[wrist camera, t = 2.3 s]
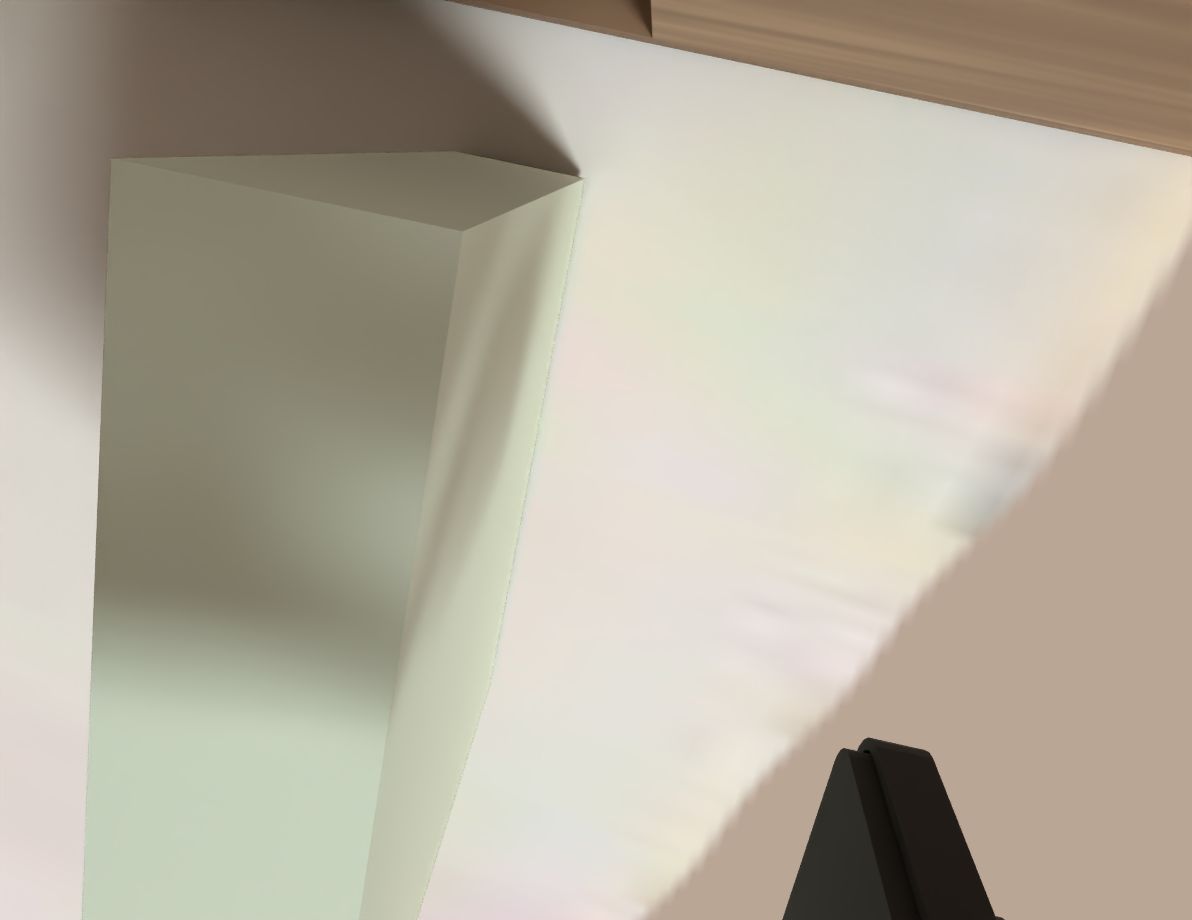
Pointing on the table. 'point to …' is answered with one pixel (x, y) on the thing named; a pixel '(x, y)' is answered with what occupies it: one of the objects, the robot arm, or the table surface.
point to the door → (306, 518)
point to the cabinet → (942, 52)
